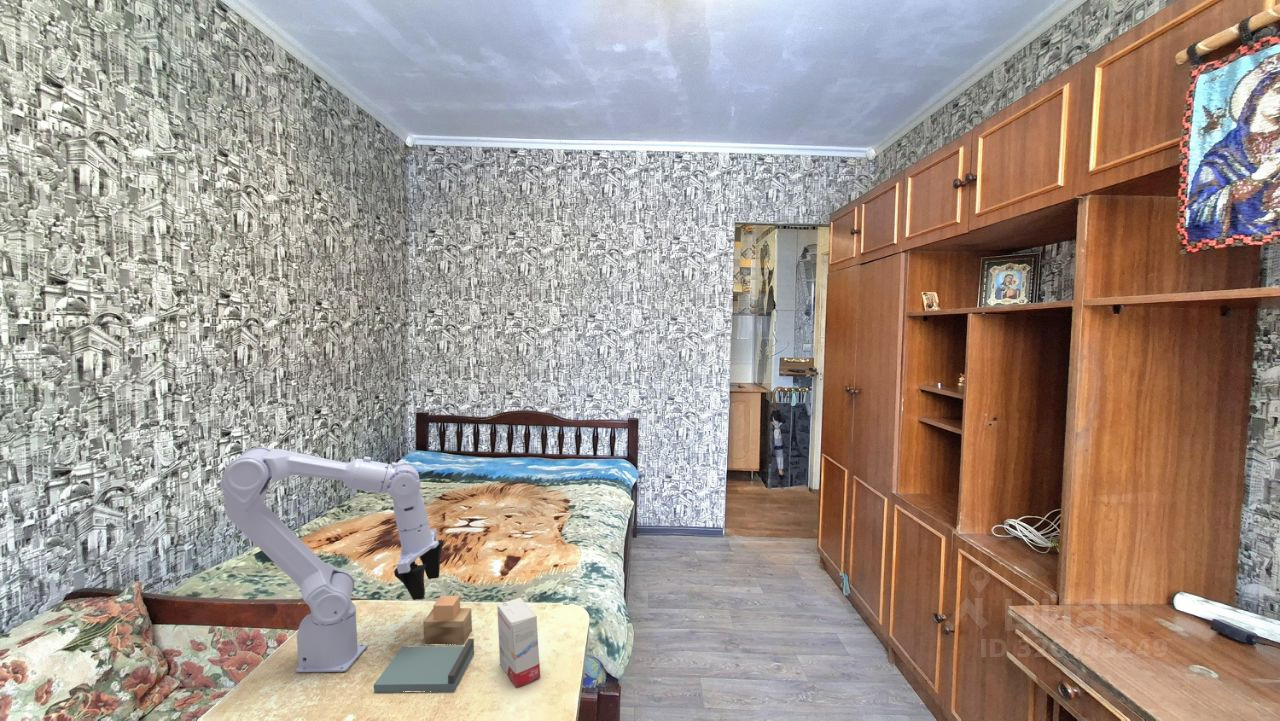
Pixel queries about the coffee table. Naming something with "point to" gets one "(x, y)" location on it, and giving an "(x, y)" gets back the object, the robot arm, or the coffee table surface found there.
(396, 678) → the dock
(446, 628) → the tan rectangular block
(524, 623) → the ink box
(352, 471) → the robot arm
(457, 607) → the carton
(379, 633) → the coffee table surface
